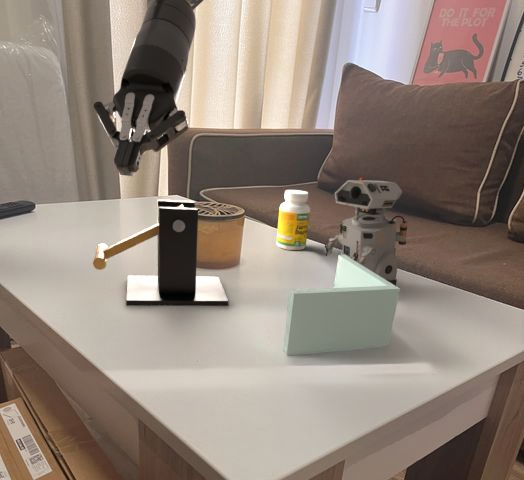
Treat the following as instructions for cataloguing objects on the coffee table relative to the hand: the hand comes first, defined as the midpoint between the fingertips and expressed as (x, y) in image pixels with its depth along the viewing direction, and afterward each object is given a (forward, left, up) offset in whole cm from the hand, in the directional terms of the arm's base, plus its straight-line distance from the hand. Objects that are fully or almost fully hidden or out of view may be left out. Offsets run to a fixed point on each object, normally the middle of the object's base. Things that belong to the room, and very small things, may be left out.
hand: (124, 171), depth 66 cm
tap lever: (+3, -8, -7) cm, 11 cm away
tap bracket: (+6, -8, -14) cm, 17 cm away
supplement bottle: (+28, +18, -14) cm, 36 cm away
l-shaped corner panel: (+21, -19, -14) cm, 32 cm away
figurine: (+33, -1, -14) cm, 36 cm away
